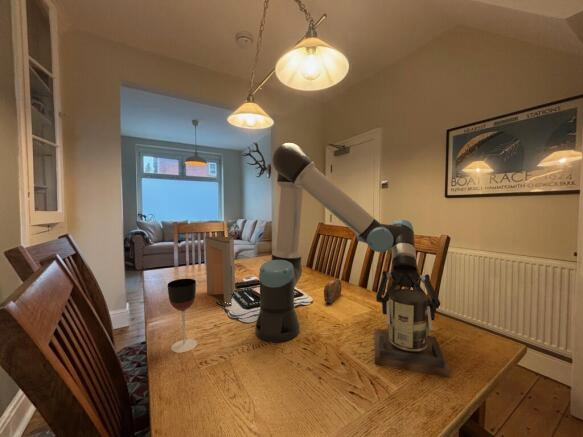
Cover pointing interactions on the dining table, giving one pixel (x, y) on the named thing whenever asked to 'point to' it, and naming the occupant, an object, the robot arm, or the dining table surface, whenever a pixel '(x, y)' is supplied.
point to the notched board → (410, 356)
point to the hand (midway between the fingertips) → (408, 328)
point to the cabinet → (220, 268)
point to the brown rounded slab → (332, 291)
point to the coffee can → (408, 319)
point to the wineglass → (182, 308)
